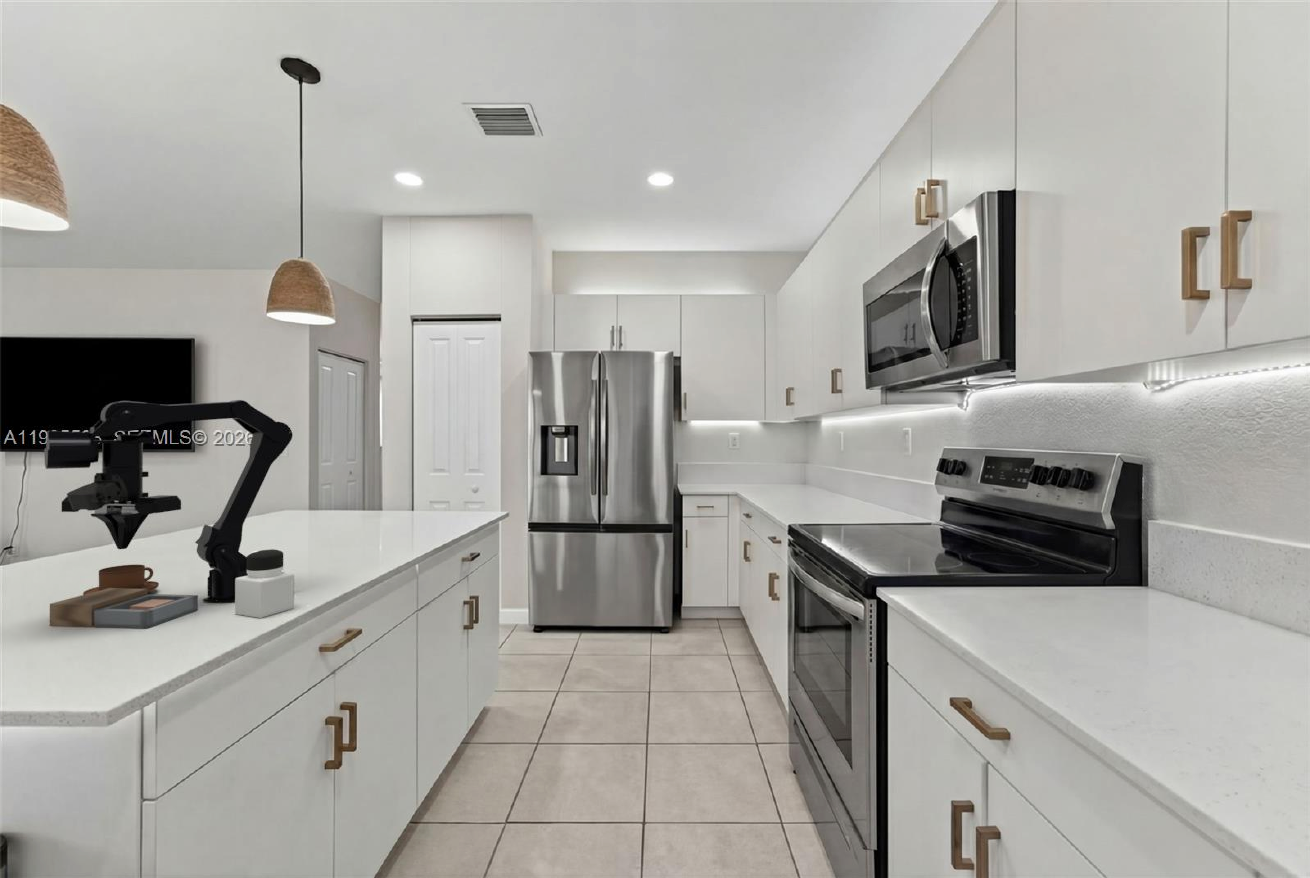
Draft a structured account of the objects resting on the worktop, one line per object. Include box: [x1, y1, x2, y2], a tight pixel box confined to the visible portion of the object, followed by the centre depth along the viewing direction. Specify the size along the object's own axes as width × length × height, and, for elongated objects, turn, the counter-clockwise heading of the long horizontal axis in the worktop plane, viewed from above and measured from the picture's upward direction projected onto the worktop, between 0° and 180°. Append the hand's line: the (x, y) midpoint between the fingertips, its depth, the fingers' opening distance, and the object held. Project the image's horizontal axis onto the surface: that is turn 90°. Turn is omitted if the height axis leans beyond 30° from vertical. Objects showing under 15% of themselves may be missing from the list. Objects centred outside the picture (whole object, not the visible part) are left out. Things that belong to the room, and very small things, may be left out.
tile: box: [130, 599, 175, 610], centre depth 110 cm, size 4×4×2 cm
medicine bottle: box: [234, 548, 295, 619], centre depth 116 cm, size 7×7×12 cm
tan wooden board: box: [49, 588, 149, 628], centre depth 111 cm, size 8×11×4 cm
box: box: [93, 593, 199, 630], centre depth 111 cm, size 10×11×3 cm
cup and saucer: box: [82, 564, 160, 595], centre depth 126 cm, size 12×12×6 cm
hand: (122, 548), depth 112 cm, fingers closed
